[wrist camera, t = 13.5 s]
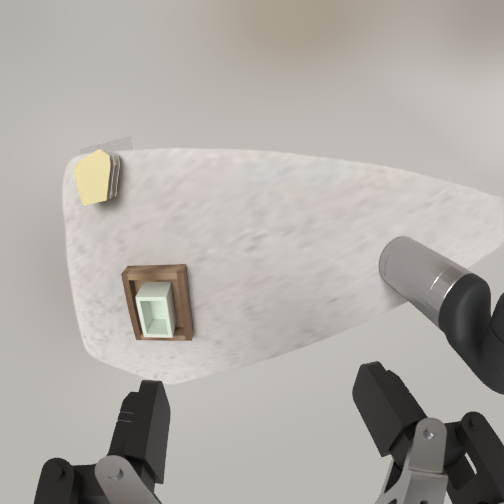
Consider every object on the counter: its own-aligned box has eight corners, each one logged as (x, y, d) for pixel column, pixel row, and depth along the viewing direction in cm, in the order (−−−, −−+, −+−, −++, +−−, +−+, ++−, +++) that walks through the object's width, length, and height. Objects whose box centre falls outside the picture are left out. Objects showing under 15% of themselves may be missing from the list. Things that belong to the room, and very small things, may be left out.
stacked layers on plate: (139, 201, 38) (127, 208, 33) (88, 211, 37) (72, 219, 32) (131, 136, 35) (117, 133, 29) (80, 149, 34) (62, 149, 29)
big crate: (185, 264, 41) (183, 272, 38) (193, 329, 45) (191, 340, 42) (127, 266, 41) (121, 274, 38) (140, 329, 44) (136, 339, 41)
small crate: (171, 281, 41) (166, 297, 37) (176, 319, 44) (172, 337, 39) (143, 282, 41) (135, 297, 36) (150, 319, 43) (144, 337, 38)
